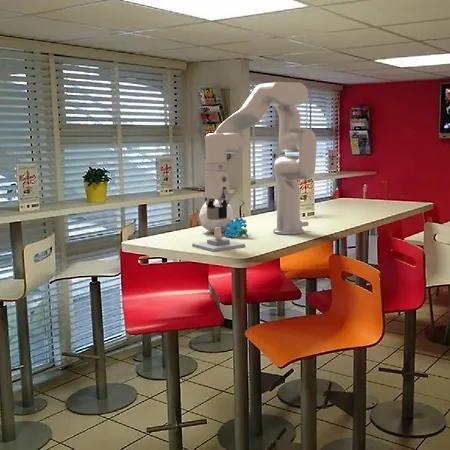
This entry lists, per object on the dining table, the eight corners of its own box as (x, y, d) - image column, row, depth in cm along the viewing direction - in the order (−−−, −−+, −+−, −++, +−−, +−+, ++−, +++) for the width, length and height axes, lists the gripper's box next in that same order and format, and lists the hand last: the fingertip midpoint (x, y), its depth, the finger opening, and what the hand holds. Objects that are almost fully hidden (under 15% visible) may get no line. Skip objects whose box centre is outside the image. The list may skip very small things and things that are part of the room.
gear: (218, 232, 240) (232, 214, 242) (225, 241, 243) (239, 222, 246) (236, 239, 232) (251, 220, 234) (243, 248, 235) (258, 229, 238)
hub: (219, 217, 220) (219, 206, 220) (229, 218, 215) (229, 207, 214) (203, 218, 217) (203, 207, 216) (214, 220, 211) (214, 209, 211)
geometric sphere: (223, 245, 250) (227, 219, 239) (191, 231, 253) (194, 206, 243) (237, 224, 259) (241, 199, 249) (206, 212, 263) (209, 186, 252)
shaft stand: (223, 241, 227) (222, 223, 226) (245, 246, 216) (244, 227, 215) (192, 246, 219) (191, 227, 218) (213, 251, 208) (212, 231, 207)
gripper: (238, 168, 209) (239, 218, 211) (211, 167, 223) (212, 214, 225) (221, 168, 204) (221, 220, 207) (194, 167, 218) (195, 215, 221)
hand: (216, 216), depth 216 cm, fingers closed on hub, 6 cm apart
